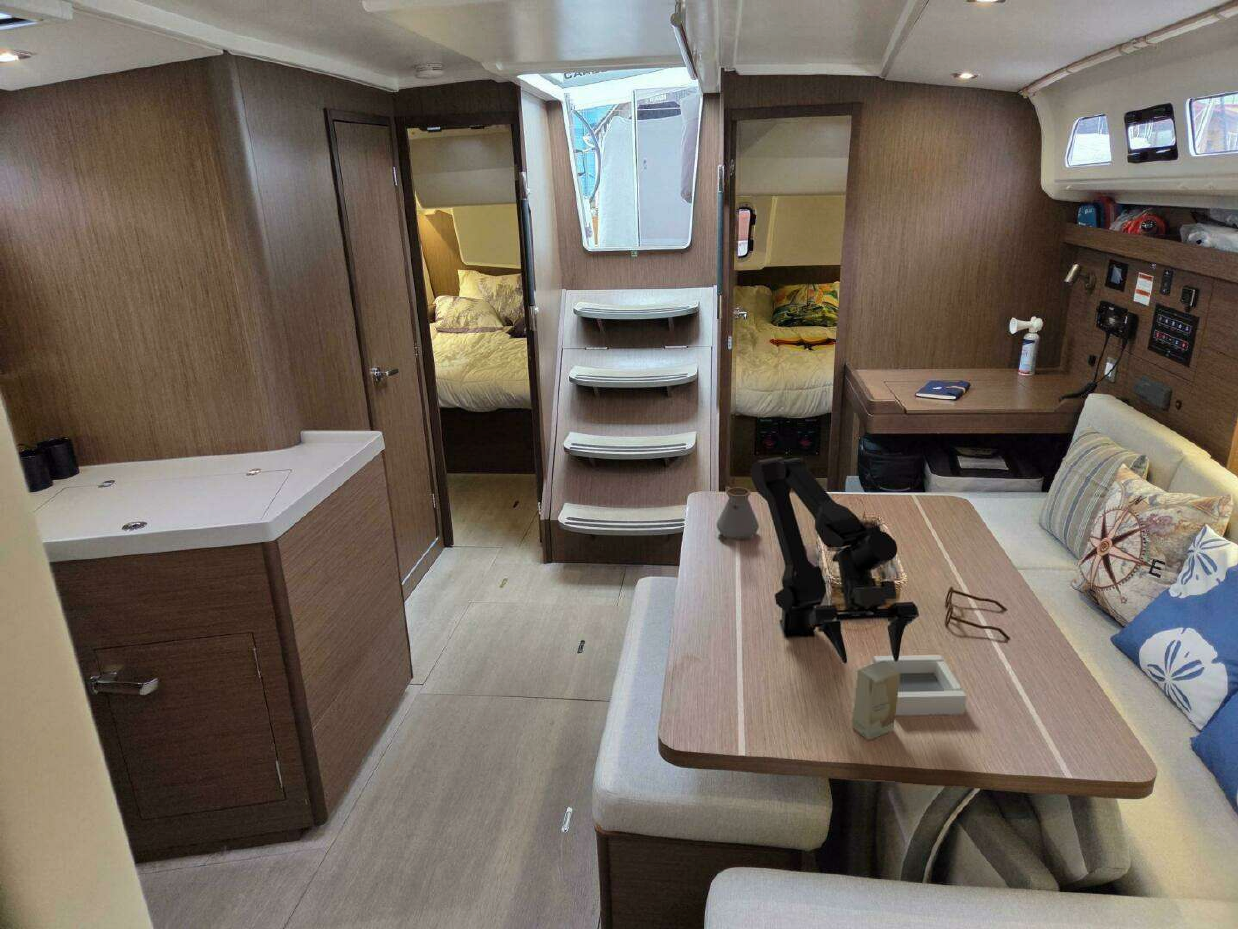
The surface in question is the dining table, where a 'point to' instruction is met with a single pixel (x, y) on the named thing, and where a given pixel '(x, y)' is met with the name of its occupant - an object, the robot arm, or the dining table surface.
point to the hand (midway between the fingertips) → (871, 662)
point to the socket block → (925, 686)
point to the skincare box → (876, 699)
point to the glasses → (965, 620)
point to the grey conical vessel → (737, 516)
